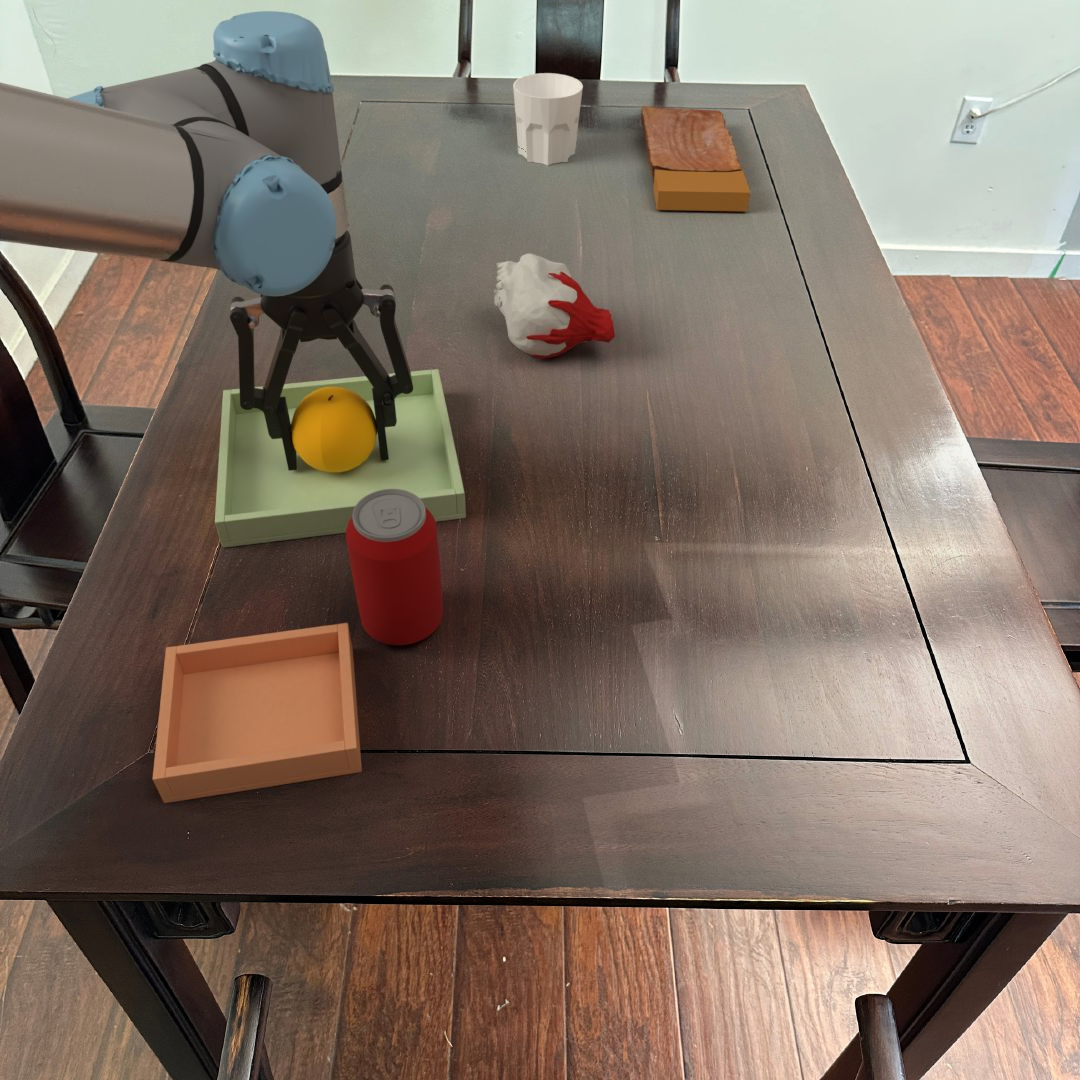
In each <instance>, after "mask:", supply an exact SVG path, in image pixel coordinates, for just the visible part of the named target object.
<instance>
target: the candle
mask: <svg viewBox="0 0 1080 1080" xmlns="http://www.w3.org/2000/svg"><path fill="white" fill-rule="evenodd" d="M496 266H497V270H496V273H497V276H496V279H495V282H496V284H495V288H496V289H493V294H494V295H493V299H494V305H495V307H497V308H498V309H499V311H500V312H501V313H502V315H503V316H504V319H505V323H506V329H507V336H508V340H509V341H510V342H511V343H512V344H513V345H514V346H515V347H516V348H518V350H520V351H522V352H524V353H525V354H528V355H530V356H531V357H532V358H536V359H549V358H555V357H557V356H561V355H563V354H564V353H566V352H568V351H569V350H571V349H572V348H574V347H575V346H577V345H579V344H582V343H587V342H592V341H595V342H603V343H608V344H609V343H610V342H611V341H612V340H613V339H614V338H615V337H616V331H615V325H614V320H613V319H612V315H613V314H612V313H611V311H610V310H609V309H607V308H606V309H605V308H598V307H597V306H595V305H594V304H593V303H592V301H591V300H590V298H589V297H588V295H586V293H585V292H584V290H583V288H582V287H581V285H580V284H579V283H578V282H577V281H576V280H575V279H573V278H572V275H571V272H570V270H569V268H568V267H567V265H566V264H565V263H564V262H555V261H551V260H549V259H547V258H544V257H542V256H540V255H537V254H534V253H529V252H528V253H525V254H522V255H521V256H520V259H519V261H518V262H515V261H512V260H507V261H503V262H502V261H501V262H496Z"/></svg>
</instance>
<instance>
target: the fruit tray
mask: <svg viewBox="0 0 1080 1080" xmlns="http://www.w3.org/2000/svg"><path fill="white" fill-rule="evenodd" d="M410 372H411V377H412V383H413V391H412V392H411V393H409V394H403V393H401V394H399V395H398V396H396V398H395V409H396V418H397V423H396V425H395V426H393V427H385V432H386V440H387V448H388V457H389V460H382V461H381V457H380V449H379V441H378V433H377V437H376V443H375V446H374V449H373V450H372V452H371V454H370V455H369V457H368V458H367V460H365V461H364V462H363V463H361V464H360V465H359V466H357V467H355V468H353V469H351V470H348V471H344V472H325V471H320V470H317V469H315V468H313V467H311V466H310V465H308V464H307V463H306V462H305V461H304V460H303V459H302V458H301V457H300V456H299V455H298V453H297V452H296V456H297V470H290V471H289V470H288V465H287V460H286V455H285V451H284V446H283V441H282V438H280V439H271V437H270V436H269V433H268V429H267V424H266V420H265V415H264V413H263V411H261V410H260V409H257V408H252V409H251V410H244V409H243V408H242V407H241V406H240V388H233V389H223V390H222V404H221V418H220V419H221V421H220V435H219V450H218V451H219V452H218V465H217V466H218V467H217V481H216V495H215V496H216V498H215V512H214V525H215V528H216V531H217V534H218V539H219V541H220V544H221V547H222V548H223V549H224V548H231V547H240V546H248V545H255V544H256V545H257V544H264V543H271V542H272V543H274V542H280V541H282V542H283V541H289V540H298V539H304V538H305V539H306V538H313V537H323V536H330V535H338V534H346V528H347V524H348V522H349V520H350V518H351V517H352V515H353V510H354V508H355V506H356V504H357V503H358V502H359V501H360V500H361V499H362V498H363V497H365V496H367V495H368V494H370V493H373V492H375V491H379V490H383V489H401V490H406V491H409V492H411V493H413V494H415V495H416V496H418V497H419V498H420V499H421V500H422V502H423V503H424V505H425V507H426V508H427V509H428V510H429V511H430V512H431V514H432V515H433V517H434V519H435V522H436V523H438V522H444V521H453V520H460V519H466V518H467V513H466V511H467V510H466V493H465V488H464V484H463V478H462V474H461V469H460V463H459V459H458V455H457V450H456V446H455V441H454V436H453V431H452V427H451V421H450V416H449V412H448V407H447V402H446V399H445V393H444V388H443V384H442V380H441V373H440V370H439V369H438V368H436V369H424V370H423V369H422V370H414V371H410ZM388 375H389V376H390V377H391V376H393V375H395V372H394V373H388ZM263 387H264V385H263V386H255V388H259V389H263ZM325 387H341V388H345V389H348V390H350V391H353V392H355V393H356V394H358V395H359V396H360V397H362V398H363V399H364V400H365V401H366V402H367V403H368V404H369V406H370V407H371V409H372V411H373V413H374V416H375V409H374V401H373V393H372V388H374V387H373V386H372V384H371V383H370V382H369V380H368V379H367V377H366V376H365V375H362V376H354V377H344V378H333V379H324V380H322V379H321V380H313V381H303V382H292V383H291V382H290V383H284V387H283V390H282V393H281V396H280V397H285V398H286V403H287V408H288V413H289V418H290V423H291V422H292V419H293V415H294V412H295V410H296V408H297V406H298V405H299V404H300V403H301V401H302V400H303V399H304V398H305V397H306V396H307V395H309V394H310V393H312V392H313V391H315V390H318V389H320V388H325ZM375 419H376V417H375Z"/></svg>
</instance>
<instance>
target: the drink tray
mask: <svg viewBox="0 0 1080 1080" xmlns="http://www.w3.org/2000/svg"><path fill="white" fill-rule="evenodd" d="M350 631H351V630H350V625H349V623H348V622H342V623H335V624H328V625H320V626H314V627H306V628H299V629H292V630H284V631H277V632H270V633H269V632H268V633H263V634H262V633H261V634H256V635H255V634H254V635H248V636H240V637H233V638H225V639H219V640H211V641H203V642H196V643H195V642H194V643H189V644H183V645H182V644H180V645H173V646H167V647H165V655H164V665H163V674H162V683H161V692H160V703H159V713H158V722H157V732H156V740H155V741H156V742H155V749H154V760H153V771H152V782H153V784H154V785H155V788H156V790H157V791H158V793H159V796H160V798H161V800H162V802H163V804H170V803H177V802H183V801H187V800H188V801H189V800H195V799H200V798H208V797H213V796H220V795H226V794H232V793H233V794H234V793H238V792H246V791H252V790H256V789H258V790H259V789H263V788H269V787H275V786H281V785H288V784H289V785H290V784H295V783H301V782H307V781H314V780H320V779H326V778H333V777H340V776H345V775H352V774H358V773H362V772H363V769H362V756H361V755H362V753H361V742H360V741H361V740H360V729H359V728H360V727H359V716H358V715H359V713H358V701H357V687H356V674H355V660H354V659H355V658H354V648H353V643H352V642H353V641H352V638H351V637H352V636H351V632H350Z"/></svg>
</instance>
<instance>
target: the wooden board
mask: <svg viewBox="0 0 1080 1080" xmlns="http://www.w3.org/2000/svg"><path fill="white" fill-rule="evenodd" d="M640 109H641V115H640V120H641V121H640V122H641V127H642V131H643V137H644V141H645V147H646V156H647V161H648V165H649V170H650V175H651V180H652V181H651V182H652V185H653V188H652V190H653V191H652V192H653V197H654V202H655V207H656V210H657V211H701V212H702V211H703V212H748V210H749V204H750V198H751V190H750V188H749V184H748V181H747V178H746V175H745V172H744V170H742V169H743V168H742V165H741V163H740V161H739V157H738V153H737V150H736V146H735V144H734V143H733V139H734V137H733V136H732V135H731V134H730V131H729V129H728V127H727V126H726V119H725V117H724V114H723V112H722V111H720V110H715V109H714V110H711V109H696V108H695V109H694V108H670V107H669V108H663V107H655V106H653V107H652V106H642V107H641V108H640Z"/></svg>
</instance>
